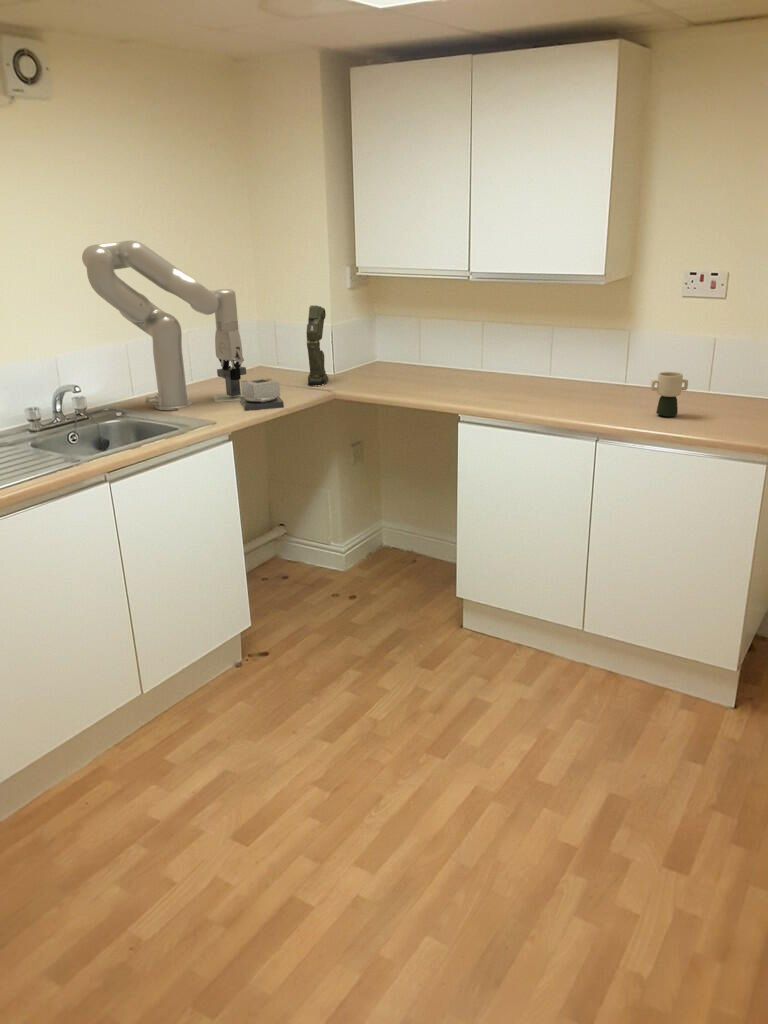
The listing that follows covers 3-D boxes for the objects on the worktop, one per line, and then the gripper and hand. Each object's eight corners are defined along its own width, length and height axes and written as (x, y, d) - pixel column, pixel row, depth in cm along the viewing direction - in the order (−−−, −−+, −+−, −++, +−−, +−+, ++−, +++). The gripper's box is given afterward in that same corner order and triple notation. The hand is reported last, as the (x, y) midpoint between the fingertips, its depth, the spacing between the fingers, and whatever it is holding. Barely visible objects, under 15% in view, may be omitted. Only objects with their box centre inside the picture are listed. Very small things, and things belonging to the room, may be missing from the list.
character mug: (681, 412, 258) (685, 371, 254) (688, 418, 252) (692, 375, 247) (645, 413, 259) (649, 372, 255) (651, 418, 252) (655, 376, 248)
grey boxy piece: (254, 403, 277) (252, 385, 275) (239, 398, 285) (238, 380, 283) (283, 398, 283) (281, 380, 280) (268, 393, 291) (266, 375, 289)
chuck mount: (245, 410, 277) (244, 405, 277) (240, 402, 289) (240, 397, 288) (283, 407, 281) (283, 401, 280) (277, 399, 292) (277, 394, 292)
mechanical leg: (320, 386, 308) (321, 303, 304) (301, 385, 309) (302, 303, 306) (330, 387, 321) (331, 308, 318) (312, 386, 323) (313, 308, 319)
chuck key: (225, 397, 290) (223, 370, 287) (219, 395, 293) (216, 369, 290) (247, 393, 296) (245, 367, 292) (241, 391, 299) (239, 365, 296)
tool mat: (215, 403, 289) (215, 402, 289) (212, 397, 298) (212, 396, 298) (249, 400, 292) (249, 399, 292) (246, 395, 301) (246, 393, 301)
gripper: (203, 325, 289) (209, 377, 296) (233, 329, 278) (237, 383, 284) (221, 323, 294) (226, 374, 301) (250, 326, 283) (255, 379, 289)
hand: (231, 378), depth 292 cm, fingers closed on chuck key, 4 cm apart
